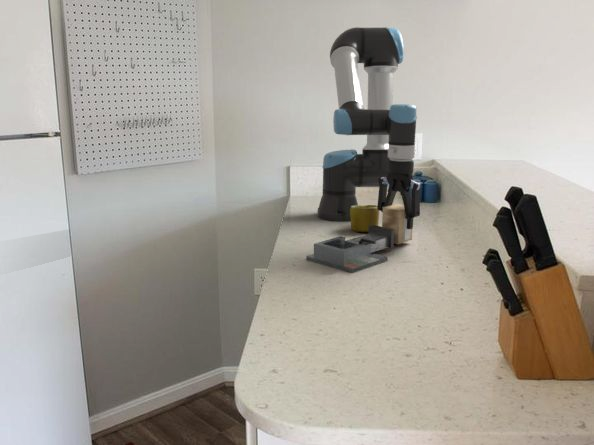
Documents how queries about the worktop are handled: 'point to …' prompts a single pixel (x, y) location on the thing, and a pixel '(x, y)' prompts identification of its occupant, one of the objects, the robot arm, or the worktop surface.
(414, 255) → the worktop surface
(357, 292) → the worktop surface
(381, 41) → the robot arm
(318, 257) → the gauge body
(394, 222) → the block
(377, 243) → the grey blocky piece
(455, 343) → the worktop surface
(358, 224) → the mug
